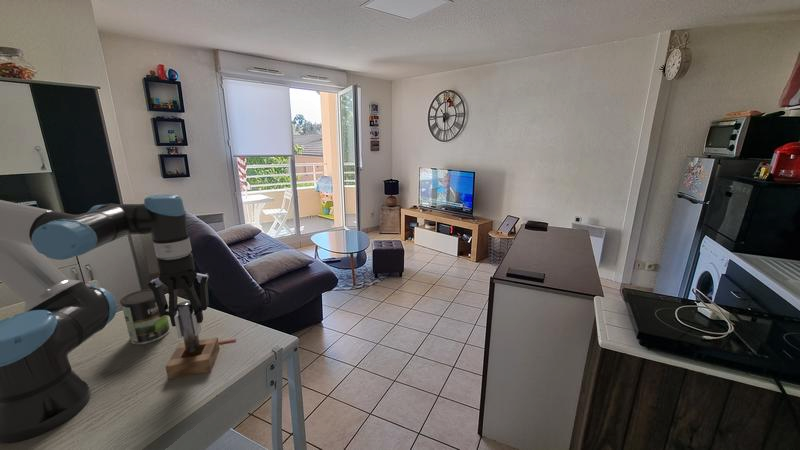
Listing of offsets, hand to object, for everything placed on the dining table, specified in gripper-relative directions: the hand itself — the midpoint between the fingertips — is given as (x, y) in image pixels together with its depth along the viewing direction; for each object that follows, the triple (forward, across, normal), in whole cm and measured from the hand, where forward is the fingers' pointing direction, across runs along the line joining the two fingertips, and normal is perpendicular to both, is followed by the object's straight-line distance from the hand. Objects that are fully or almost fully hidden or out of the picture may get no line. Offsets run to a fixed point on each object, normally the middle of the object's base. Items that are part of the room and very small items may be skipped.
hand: (190, 333), depth 85 cm
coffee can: (+10, -18, +19) cm, 28 cm away
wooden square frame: (+10, 0, 0) cm, 10 cm away
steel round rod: (+5, 0, 0) cm, 5 cm away
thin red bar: (+10, +2, +8) cm, 13 cm away
